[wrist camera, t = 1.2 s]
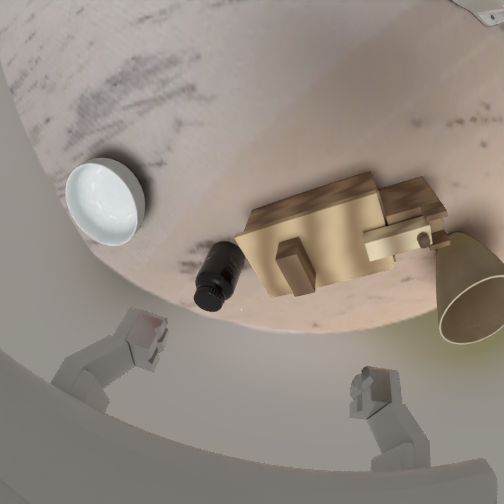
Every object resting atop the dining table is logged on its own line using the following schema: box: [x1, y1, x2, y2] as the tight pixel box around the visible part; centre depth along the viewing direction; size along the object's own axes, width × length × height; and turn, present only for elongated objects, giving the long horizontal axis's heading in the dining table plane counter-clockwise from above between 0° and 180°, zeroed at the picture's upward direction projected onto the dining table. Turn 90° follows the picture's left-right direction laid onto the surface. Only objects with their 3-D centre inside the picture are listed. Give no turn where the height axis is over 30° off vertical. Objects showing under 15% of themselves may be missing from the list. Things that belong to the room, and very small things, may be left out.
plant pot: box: [436, 232, 504, 344], centre depth 37 cm, size 15×15×16 cm
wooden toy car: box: [363, 216, 432, 261], centre depth 34 cm, size 9×3×4 cm, turn 117°
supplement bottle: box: [194, 243, 244, 312], centre depth 50 cm, size 7×7×12 cm
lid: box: [234, 190, 395, 298], centre depth 40 cm, size 21×13×6 cm, turn 117°
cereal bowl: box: [66, 158, 145, 246], centre depth 48 cm, size 17×17×7 cm
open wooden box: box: [244, 172, 450, 262], centre depth 41 cm, size 28×12×11 cm, turn 117°
